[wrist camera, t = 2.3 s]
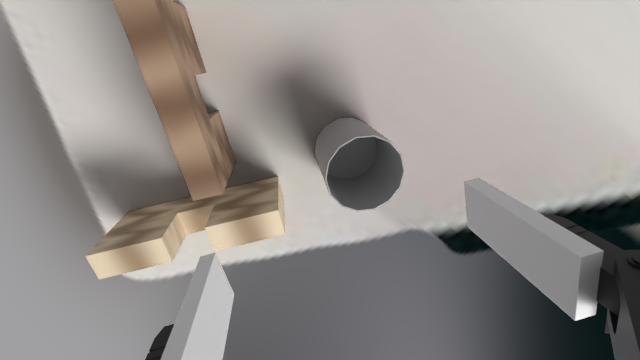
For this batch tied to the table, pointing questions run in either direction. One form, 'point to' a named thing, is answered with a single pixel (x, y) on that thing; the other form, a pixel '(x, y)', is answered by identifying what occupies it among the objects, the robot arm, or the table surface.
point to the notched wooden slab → (190, 227)
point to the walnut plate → (178, 91)
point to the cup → (358, 164)
